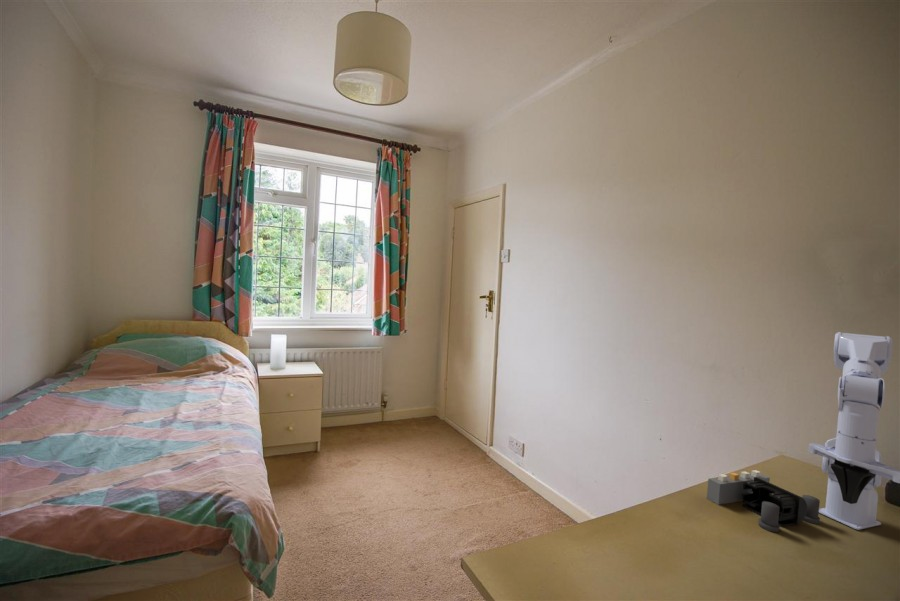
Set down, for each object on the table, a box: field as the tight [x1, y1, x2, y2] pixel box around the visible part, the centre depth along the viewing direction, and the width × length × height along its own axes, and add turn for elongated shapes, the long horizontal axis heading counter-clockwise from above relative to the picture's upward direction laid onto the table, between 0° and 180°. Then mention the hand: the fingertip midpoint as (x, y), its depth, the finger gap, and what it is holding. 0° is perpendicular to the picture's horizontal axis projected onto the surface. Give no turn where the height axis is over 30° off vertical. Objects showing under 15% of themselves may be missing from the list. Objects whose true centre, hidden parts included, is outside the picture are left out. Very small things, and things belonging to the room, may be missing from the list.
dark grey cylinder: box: [801, 494, 821, 525], centre depth 93 cm, size 4×4×5 cm
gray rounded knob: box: [757, 501, 781, 533], centre depth 89 cm, size 4×4×5 cm
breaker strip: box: [706, 469, 771, 505], centre depth 102 cm, size 18×3×6 cm, turn 110°
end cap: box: [742, 477, 807, 528], centre depth 94 cm, size 10×7×7 cm
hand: (849, 501), depth 82 cm, fingers closed
